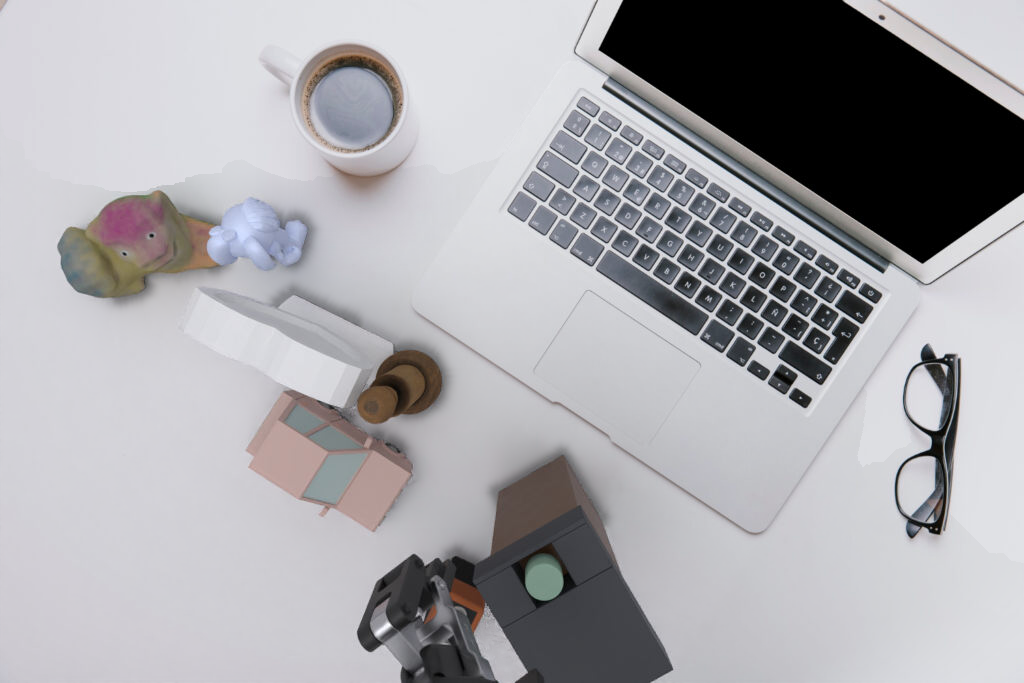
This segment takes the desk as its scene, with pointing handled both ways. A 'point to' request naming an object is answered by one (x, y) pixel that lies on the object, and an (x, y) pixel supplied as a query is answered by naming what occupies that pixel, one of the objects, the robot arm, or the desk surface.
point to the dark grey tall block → (566, 587)
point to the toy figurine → (255, 236)
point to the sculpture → (133, 246)
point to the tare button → (543, 577)
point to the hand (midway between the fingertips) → (483, 626)
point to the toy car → (328, 460)
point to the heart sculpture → (289, 343)
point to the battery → (463, 596)
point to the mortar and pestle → (401, 387)
